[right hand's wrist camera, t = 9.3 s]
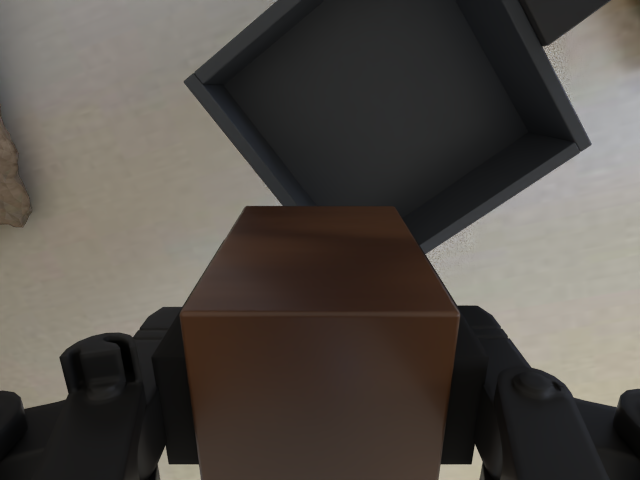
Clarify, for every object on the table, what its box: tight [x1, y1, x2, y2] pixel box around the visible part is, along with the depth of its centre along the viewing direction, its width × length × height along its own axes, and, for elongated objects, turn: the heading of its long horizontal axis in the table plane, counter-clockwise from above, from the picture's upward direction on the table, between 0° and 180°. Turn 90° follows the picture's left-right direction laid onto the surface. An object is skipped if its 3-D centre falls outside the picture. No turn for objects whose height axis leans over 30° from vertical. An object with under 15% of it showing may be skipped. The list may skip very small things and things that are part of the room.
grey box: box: [184, 0, 611, 254], centre depth 20 cm, size 22×13×6 cm, turn 127°
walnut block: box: [180, 206, 460, 480], centre depth 11 cm, size 5×5×7 cm
